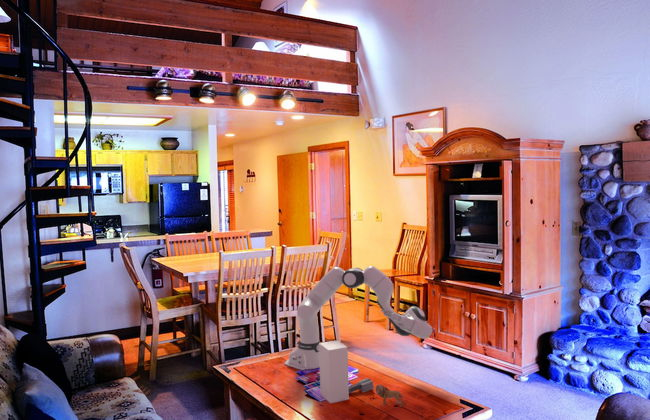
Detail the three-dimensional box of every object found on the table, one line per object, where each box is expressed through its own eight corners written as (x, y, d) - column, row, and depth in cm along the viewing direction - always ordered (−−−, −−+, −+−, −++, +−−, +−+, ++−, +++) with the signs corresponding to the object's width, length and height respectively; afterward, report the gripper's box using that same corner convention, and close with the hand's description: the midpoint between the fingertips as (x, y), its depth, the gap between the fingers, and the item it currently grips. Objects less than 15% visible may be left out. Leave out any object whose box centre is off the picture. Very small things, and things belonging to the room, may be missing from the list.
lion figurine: (374, 405, 237) (374, 386, 236) (376, 400, 242) (376, 382, 241) (406, 407, 233) (405, 388, 232) (407, 402, 238) (406, 384, 238)
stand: (338, 390, 255) (337, 340, 253) (348, 399, 244) (347, 346, 242) (320, 394, 251) (318, 343, 249) (330, 403, 240) (328, 350, 238)
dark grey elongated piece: (336, 389, 251) (338, 397, 251) (340, 393, 246) (342, 401, 247) (367, 377, 257) (369, 385, 258) (372, 381, 253) (373, 388, 253)
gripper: (398, 312, 273) (379, 302, 268) (420, 321, 254) (399, 311, 249) (393, 323, 272) (374, 313, 267) (415, 332, 253) (394, 322, 248)
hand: (386, 312), depth 258 cm, fingers open, 8 cm apart
